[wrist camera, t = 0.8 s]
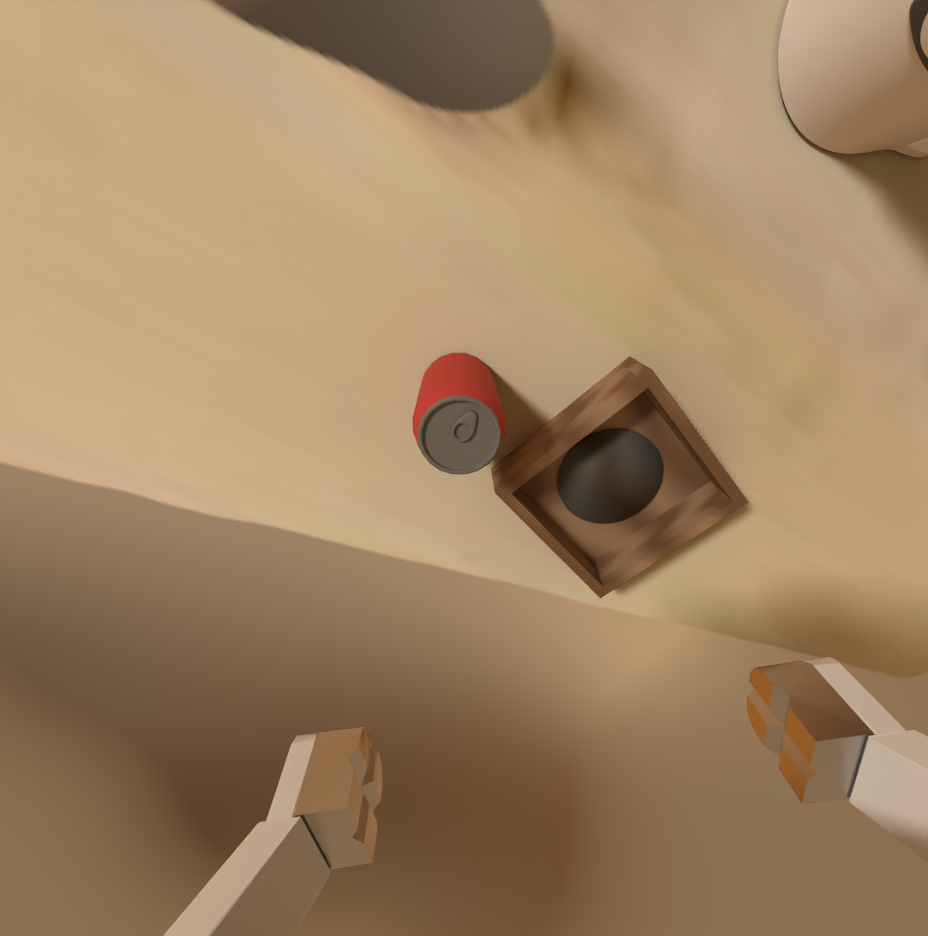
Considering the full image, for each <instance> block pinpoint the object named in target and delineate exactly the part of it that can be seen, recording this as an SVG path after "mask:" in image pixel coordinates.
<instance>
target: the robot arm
mask: <svg viewBox="0 0 928 936" xmlns="http://www.w3.org/2000/svg"><path fill="white" fill-rule="evenodd" d="M778 74H779V83H780V89H781V93H782V97H783V101H784V104H785V107H786V109H787V111H788V114H789V115H790V117H791V119H792V121H793V122H794V124H795V126H796V127H797V128H798V129H799V131H800V132H801V133H802V134H803V135H804V136H805V137H806V138H807V139H809V140H810V141H811V142H813V143H814V144H816V145H818V146H819V147H821V148H824V149H826V150H829V151H832V152H837V153H844V154H858V153H866V152H872V151H877V150H885V149H892V150H895V151H897V152H900V153H902V154H905V155H908V156H912V157H926V156H928V0H789V2H788V5H787V8H786V12H785V16H784V20H783V24H782V29H781V34H780V41H779V52H778ZM749 681H750V683H751V684H752V685H753V687H754V688H755V689H754V690H753V691H752V692H751V693H750V694H749V695H748V696H747V711H748V714H749V718H750V722H751V724H752V726H753V728H754V730H755V732H756V734H757V736H758V737H759V739H760V740H761V742H762V743H763V745H764V746H765V747H767V748H768V749H770V750H771V751H773V752H774V753H776V754H777V755H779V767H778V768H779V770H780V771H781V773H782V774H783V776H784V777H785V779H786V780H787V782H788V783H789V785H790V786H791V788H792V789H793V791H794V792H795V794H796V795H797V797H798V798H799V800H800V802H801V803H802V804H806V803H816V802H826V801H835V800H845V799H850V801H849V802H850V803H852V804H853V805H854V806H856V807H857V808H858V809H859V810H861V811H862V812H863V813H865V814H866V815H867V816H869V817H870V818H871V819H872V820H874V821H875V822H876V823H878V824H879V825H880V826H882V827H883V828H884V829H885V830H887V831H888V832H889V833H891V834H892V835H893V836H895V837H896V838H897V839H899V840H900V841H901V842H903V843H904V844H905V845H906V846H908V847H909V848H910V849H912V850H913V851H914V852H916V853H917V854H918V855H920V856H921V857H922V858H924V859H925V860H926V861H928V736H926V735H924V734H922V733H920V732H918V731H917V730H905V729H904V728H903V727H902V726H901V724H900V723H899V722H897V720H895V718H894V717H893V716H891V714H890V713H889V712H888V711H887V710H886V709H885V708H884V707H883V706H881V704H880V703H879V702H878V701H877V700H876V699H875V698H874V697H873V696H871V694H870V693H869V692H868V691H867V690H866V689H865V688H864V687H863V686H862V685H861V684H860V683H859V682H858V681H857V680H856V679H855V678H854V677H853V676H852V675H851V674H850V673H849V672H848V671H847V670H846V669H845V668H844V667H843V666H842V665H841V664H840V663H839V662H838V661H837V660H835V659H833V658H831V657H824V658H818V659H813V660H806V661H795V662H789V663H782V664H776V665H770V666H764V667H759V668H754V669H753V670H752V671H751V673H750V680H749ZM371 740H372V736H371V733H370V731H369V729H368V727H362V728H354V729H346V730H339V731H331V732H323V733H314V734H307V735H300V736H297V737H296V738H295V740H294V741H293V743H292V744H291V747H290V750H289V753H288V756H287V759H286V762H285V765H284V768H283V772H282V774H281V778H280V781H279V784H278V787H277V790H276V793H275V796H274V799H273V802H272V805H271V808H270V811H269V815H268V817H267V820H266V821H263V822H259V823H258V824H257V825H256V826H255V828H254V829H253V830H252V831H251V833H250V834H249V835H248V836H247V837H246V839H245V840H244V841H243V842H242V843H241V844H240V846H239V847H238V848H237V849H236V850H235V851H234V853H233V854H232V855H231V856H230V857H229V859H228V860H227V861H226V862H225V863H224V864H223V866H222V867H221V868H220V869H219V870H218V872H217V873H216V874H215V875H214V876H213V878H212V879H211V880H210V881H209V882H208V883H207V885H206V886H205V887H204V888H203V889H202V891H201V892H200V893H199V894H198V895H197V896H196V898H195V899H194V900H193V901H192V902H191V904H190V905H189V906H188V907H187V909H186V910H185V911H184V912H183V913H182V914H181V915H180V917H179V918H178V919H177V920H176V921H175V923H174V924H173V925H172V926H171V927H170V928H169V930H168V931H167V932H166V933H165V934H164V936H295V934H296V932H297V931H298V929H299V927H300V926H301V924H302V922H303V921H304V919H305V917H306V915H307V914H308V912H309V910H310V908H311V907H312V905H313V903H314V901H315V900H316V898H317V896H318V894H319V893H320V891H321V889H322V887H323V886H324V884H325V882H326V880H327V879H328V877H329V875H330V874H331V871H330V870H331V869H336V868H342V867H348V866H354V865H360V864H366V863H372V862H373V856H374V847H375V840H376V833H377V822H376V819H375V817H374V814H373V810H374V809H375V807H376V806H377V804H378V803H379V801H380V800H381V791H382V766H381V760H380V756H379V754H378V751H377V750H376V749H374V748H373V747H371Z"/></svg>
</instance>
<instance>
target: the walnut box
mask: <svg viewBox="0 0 928 936" xmlns="http://www.w3.org/2000/svg"><path fill="white" fill-rule="evenodd" d="M491 471H492V477H493V483H494V489H495V493H496V494H497V495H498V496H499V497H500V498H501V499H502V500H503V501H504V502H505V503H506V504H507V505H508V506H509V507H510V508H511V509H512V510H513V511H514V512H515V513H516V514H517V515H518V516H519V517H520V518H521V519H522V520H523V521H524V522H525V523H526V524H527V525H528V526H529V527H530V528H531V529H532V530H533V531H534V532H535V533H536V534H537V535H538V536H539V537H540V538H541V539H542V540H543V541H544V542H545V543H546V544H547V545H548V546H549V547H550V548H551V549H552V550H553V551H554V552H555V553H556V554H557V555H558V556H559V557H560V558H561V559H562V560H563V561H564V562H565V563H566V564H567V565H568V566H569V567H570V568H571V569H572V570H573V571H574V572H575V573H576V574H577V575H578V576H579V577H580V578H581V579H582V580H583V581H584V582H585V583H586V584H587V585H588V586H589V587H590V588H591V589H592V590H593V591H594V592H595V593H596V594H597V595H598V596H599V597H600V598H602V597H603V596H605V595H606V594H608V593H609V592H611V591H612V590H614V589H616V588H617V587H619V586H620V585H622V584H623V583H625V582H626V581H628V580H629V579H631V578H632V577H634V576H636V575H637V574H639V573H640V572H642V571H643V570H645V569H646V568H648V567H649V566H651V565H653V564H654V563H656V562H657V561H659V560H660V559H662V558H663V557H665V556H666V555H668V554H669V553H671V552H673V551H674V550H676V549H677V548H679V547H680V546H682V545H683V544H685V543H686V542H688V541H690V540H691V539H693V538H694V537H696V536H697V535H699V534H700V533H702V532H703V531H705V530H706V529H708V528H710V527H711V526H713V525H714V524H716V523H717V522H719V521H720V520H722V519H723V518H725V517H727V516H728V515H730V514H731V513H733V512H734V511H736V510H737V509H739V508H740V507H742V506H743V505H745V504H747V503H748V501H747V499H746V498H745V497H744V495H743V494H742V493H741V491H740V490H739V488H738V487H737V486H736V484H735V483H734V482H733V480H732V479H731V477H730V476H729V475H728V473H727V472H726V471H725V469H724V468H723V466H722V465H721V464H720V462H719V461H718V459H717V458H716V457H715V455H714V454H713V453H712V451H711V450H710V448H709V447H708V446H707V444H706V443H705V442H704V440H703V439H702V437H701V436H700V435H699V433H698V432H697V431H696V429H695V428H694V426H693V425H692V424H691V422H690V421H689V420H688V418H687V417H686V415H685V414H684V413H683V411H682V410H681V409H680V407H679V406H678V404H677V403H676V402H675V400H674V399H673V398H672V396H671V395H670V393H669V392H668V391H667V389H666V388H665V387H664V385H663V384H662V382H661V381H660V380H659V378H658V377H657V376H656V374H655V373H654V371H653V370H652V369H650V368H648V367H647V366H645V365H643V364H642V363H640V362H638V361H637V360H635V359H633V358H632V357H629V358H627V359H626V360H625V361H624V362H622V363H621V364H620V365H619V366H618V367H616V368H615V369H614V370H613V371H611V372H610V373H609V374H608V375H606V376H605V377H604V378H603V379H601V380H600V381H599V382H598V383H596V384H595V385H594V386H593V387H591V388H590V389H589V390H588V391H587V392H585V393H584V394H583V395H582V396H580V397H579V398H578V399H577V400H575V401H574V402H573V403H572V404H570V405H569V406H568V407H567V408H565V409H564V410H563V411H562V412H561V413H559V414H558V415H557V416H556V417H554V418H553V419H552V420H551V421H549V422H548V423H547V424H546V425H544V426H543V427H542V428H541V429H539V430H538V431H537V432H536V433H534V434H533V435H532V436H531V437H530V438H528V439H527V440H526V441H525V442H523V443H522V444H521V445H520V446H518V447H517V448H516V449H515V450H513V451H512V452H511V453H510V454H508V455H507V456H506V457H505V458H504V459H502V460H501V461H500V462H499V463H497V464H496V465H495V466H494V467H492V468H491Z"/></svg>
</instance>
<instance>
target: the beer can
mask: <svg viewBox="0 0 928 936" xmlns="http://www.w3.org/2000/svg"><path fill="white" fill-rule="evenodd" d="M505 426H506V418H505V414H504V410H503V407H502V403H501V400H500V397H499V394H498V391H497V387H496V384H495V381H494V378H493V375H492V373H491V371H490V370H489V368H488V367H487V365H486V364H485V363H483V362H482V361H481V360H479V359H478V358H477V357H475V356H472V355H469V354H466V353H451V354H448V355H445V356H441V357H440V358H439V359H437V360H436V361H434V362H433V363H432V364H431V365H430V366H429V368H428V369H427V371H426V372H425V374H424V377H423V380H422V383H421V387H420V391H419V395H418V399H417V403H416V407H415V411H414V415H413V433H414V436H415V438H416V441H417V444H418V446H419V448H420V449H421V452H422V454H423V455H424V457H425V458H426V459H427V460H428V462H429V463H430V464H431V465H433V466H434V467H436V468H437V469H439V470H440V471H444V472H447V473H450V474H468V473H472V472H475V471H478V470H480V469H481V468H483V467H485V466H486V465H488V464H489V463H490V461H491V460H492V459H493V458H494V457H495V456H496V454H497V452H498V449H499V447H500V445H501V442H502V440H503V437H504V435H505Z"/></svg>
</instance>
